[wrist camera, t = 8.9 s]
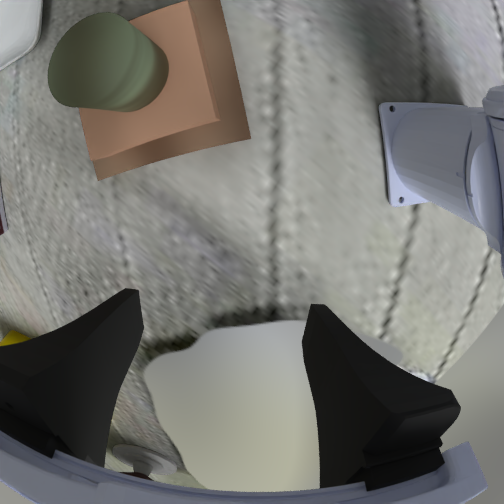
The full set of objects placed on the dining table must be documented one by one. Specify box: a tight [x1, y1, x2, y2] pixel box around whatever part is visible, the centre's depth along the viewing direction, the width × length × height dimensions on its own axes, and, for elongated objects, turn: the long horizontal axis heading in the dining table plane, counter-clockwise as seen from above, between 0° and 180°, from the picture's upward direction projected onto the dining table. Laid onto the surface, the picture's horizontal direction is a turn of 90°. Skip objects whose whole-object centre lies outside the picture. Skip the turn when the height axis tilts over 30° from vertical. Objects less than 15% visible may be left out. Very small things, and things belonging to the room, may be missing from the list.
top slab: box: [79, 0, 220, 161], centre depth 14 cm, size 8×8×2 cm
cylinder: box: [48, 12, 169, 112], centre depth 10 cm, size 4×4×5 cm
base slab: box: [93, 0, 251, 181], centre depth 16 cm, size 11×11×2 cm
